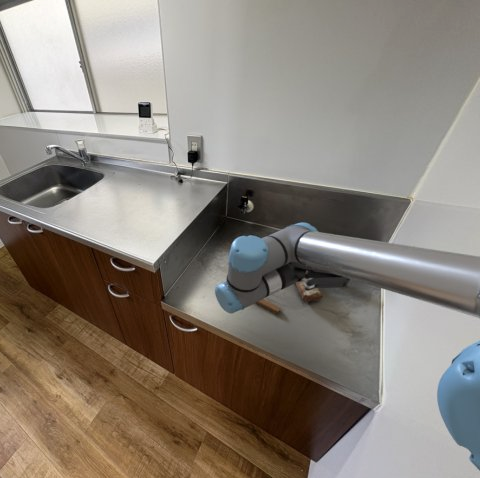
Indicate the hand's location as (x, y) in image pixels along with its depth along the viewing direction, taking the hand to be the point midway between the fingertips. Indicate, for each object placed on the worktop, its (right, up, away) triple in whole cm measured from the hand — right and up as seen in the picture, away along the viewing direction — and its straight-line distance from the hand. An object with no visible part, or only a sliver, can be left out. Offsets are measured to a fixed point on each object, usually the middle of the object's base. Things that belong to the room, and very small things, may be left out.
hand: (333, 248), depth 69 cm
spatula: (-15, -19, +19) cm, 31 cm away
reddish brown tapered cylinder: (+3, -14, +22) cm, 27 cm away
